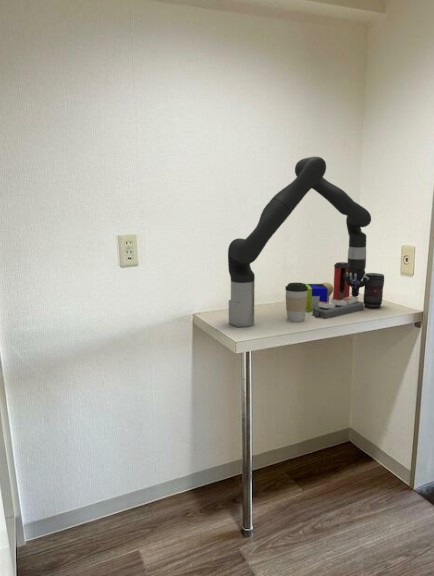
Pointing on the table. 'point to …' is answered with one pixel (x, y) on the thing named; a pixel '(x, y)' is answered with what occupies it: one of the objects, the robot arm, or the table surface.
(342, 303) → the rocker
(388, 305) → the table surface
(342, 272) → the speaker
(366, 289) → the camera lens
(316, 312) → the power strip
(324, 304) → the rocker
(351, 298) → the rocker
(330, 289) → the beige rounded piece
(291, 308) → the coffee cup
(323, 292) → the puzzle toy
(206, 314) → the table surface
